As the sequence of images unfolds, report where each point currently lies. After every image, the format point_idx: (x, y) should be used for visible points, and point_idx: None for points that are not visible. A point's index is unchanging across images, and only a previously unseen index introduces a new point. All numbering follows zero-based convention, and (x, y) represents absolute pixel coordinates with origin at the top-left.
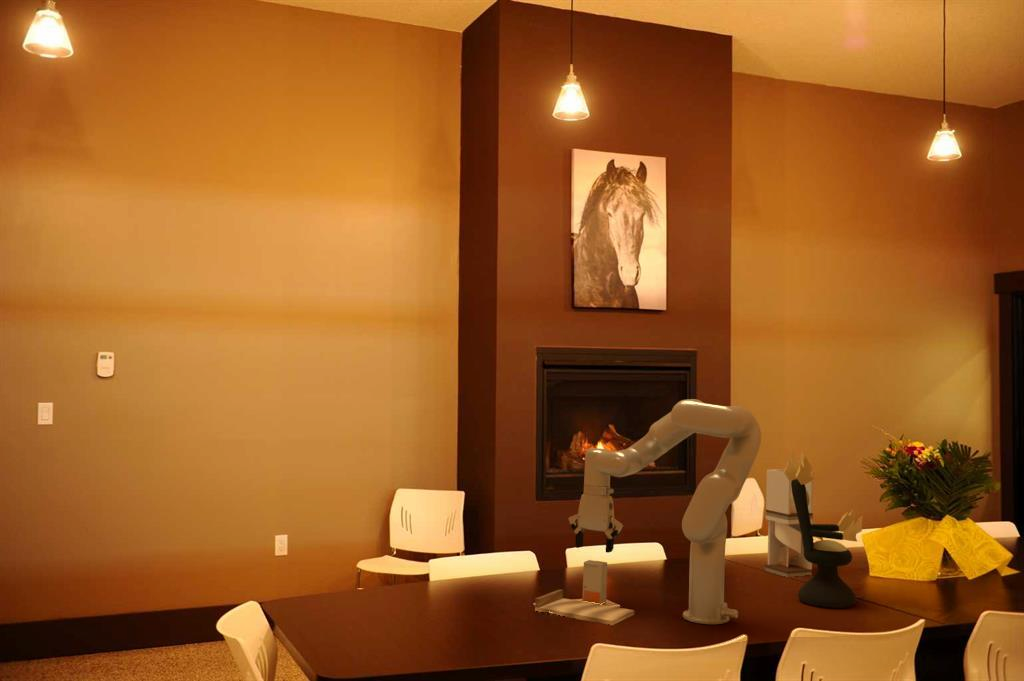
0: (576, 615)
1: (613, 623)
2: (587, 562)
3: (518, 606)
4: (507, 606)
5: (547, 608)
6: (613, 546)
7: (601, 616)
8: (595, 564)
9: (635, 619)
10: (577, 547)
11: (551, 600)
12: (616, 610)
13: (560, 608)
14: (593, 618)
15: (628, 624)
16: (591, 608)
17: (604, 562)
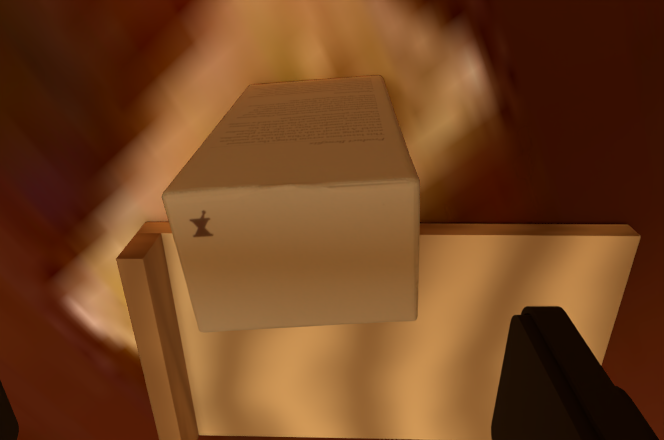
0: (394, 435)
1: None
2: (238, 326)
3: (75, 392)
4: (44, 414)
5: (236, 427)
6: (638, 415)
7: None
8: (338, 322)
9: (652, 298)
10: (7, 434)
11: (177, 350)
12: (543, 293)
13: (282, 400)
14: (480, 436)
15: (635, 382)
16: (407, 328)
17: (395, 219)
